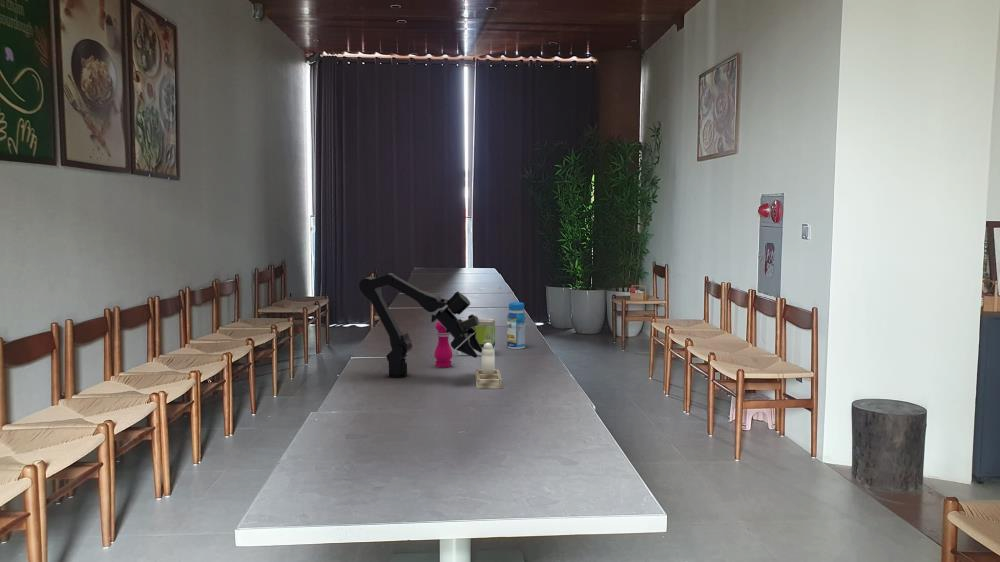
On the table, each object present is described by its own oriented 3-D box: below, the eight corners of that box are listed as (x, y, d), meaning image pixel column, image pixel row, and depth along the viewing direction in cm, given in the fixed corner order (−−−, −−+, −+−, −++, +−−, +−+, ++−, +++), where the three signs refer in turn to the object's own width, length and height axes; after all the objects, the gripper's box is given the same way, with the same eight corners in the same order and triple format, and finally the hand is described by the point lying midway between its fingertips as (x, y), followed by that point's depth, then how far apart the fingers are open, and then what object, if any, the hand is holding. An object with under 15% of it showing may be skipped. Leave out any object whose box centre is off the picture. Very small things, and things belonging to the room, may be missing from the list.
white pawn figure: (479, 378, 273) (480, 343, 272) (483, 375, 278) (483, 341, 276) (492, 379, 272) (493, 344, 271) (495, 376, 277) (495, 341, 275)
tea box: (495, 351, 326) (495, 318, 324) (492, 356, 316) (493, 321, 314) (461, 350, 327) (461, 317, 326) (457, 355, 317) (457, 321, 316)
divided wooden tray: (476, 388, 262) (476, 380, 262) (475, 377, 279) (475, 369, 279) (502, 388, 263) (502, 380, 263) (499, 376, 280) (499, 369, 280)
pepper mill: (453, 364, 301) (453, 314, 299) (450, 368, 294) (450, 317, 292) (436, 363, 302) (436, 314, 300) (432, 367, 295) (432, 317, 292)
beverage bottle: (525, 349, 331) (526, 304, 329) (506, 349, 332) (506, 304, 329) (525, 345, 340) (525, 301, 338) (506, 345, 340) (507, 301, 338)
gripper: (460, 312, 264) (490, 344, 264) (471, 304, 283) (499, 335, 282) (438, 332, 267) (467, 365, 266) (450, 324, 285) (478, 354, 284)
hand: (479, 354), depth 274 cm, fingers open, 9 cm apart
